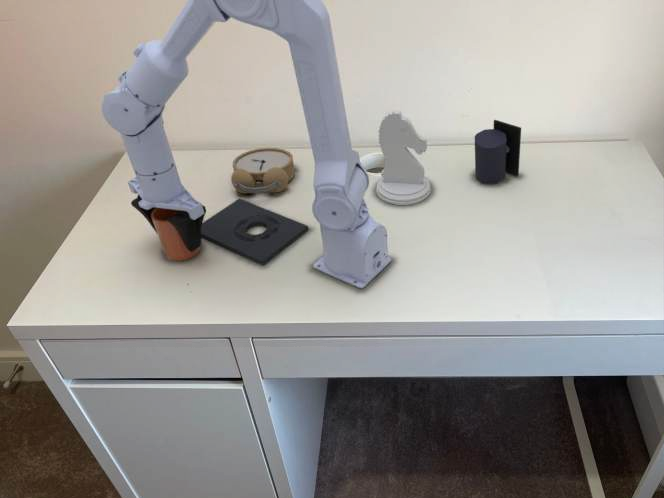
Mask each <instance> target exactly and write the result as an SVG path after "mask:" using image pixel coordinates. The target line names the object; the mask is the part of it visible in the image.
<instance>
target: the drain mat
mask: <svg viewBox="0 0 664 498" xmlns="http://www.w3.org/2000/svg"><path fill="white" fill-rule="evenodd" d="M258 226H261V227H262V226H263V227H265V228H266V230H264V231H263V232H261V233H258V234H257V233H256V234H251V233H248V230H249V229H251V228H254V227H258ZM308 231H309V226H308V225H307V224H304V223H301V222H299V221H297V220H294V219H292V218H289V217H286V216H284V215H282V214H279V213H276V212H274V211H272V210H269V209H266V208H264V207H262V206H259V205H256V204H254V203H252V202H249V201H246V200H243V199H241V198H238V199H236V200H235V201H233V202H232V203H230V204H228V205H227V206H226V207H224V208H223V209H221V210H220V211H217V213H215V214H214V215H212V216H211V217H209V218H208V219H206V220H205V221H203V222H202V227H201V238H203V239H205V240H207V241H209V242H212V243H214V244H216V245H218V246H220V247H222V248H224V249H226V250H229V251H231V252H234V253H236V254H238V255H240V256H242V257H243V258H246V259H248V260H250V261H253V262H254V263H257V264H259V265H261V266H264V265H266V264H267V263H268V262H270V261H271V260H272V259H274V258H275V257H276V256H277V255H279V254H280V253H282V251H284V250H285V249H286V248H287V247H289V246H290V245H291V244H292V243H294V242H295V241H296V240H297V239H299V238H300V237H301V236H302V235H304V234H305V233H306V232H308Z"/></svg>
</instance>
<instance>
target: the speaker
mask: <svg viewBox="0 0 664 498" xmlns="http://www.w3.org/2000/svg"><path fill="white" fill-rule="evenodd" d="M521 140H522V127H521V126H517V125H515V124H511V123H508V122H504V121H501V120H497V119H494V120H493V128H488V129H483V130H481V131H478V132H477V133H476V134H475V135H474V167H475V168H474V172H475V179H476V180H477V181H478V182H479V183H481V184H483V185H497V184H499V183H500V182H502V181H503V180H505V178H506V175H507V174H509V175H511V176H514V177H519V175H520V173H519V172H520V160H521V159H520V158H521V157H520V156H521Z"/></svg>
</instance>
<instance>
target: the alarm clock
mask: <svg viewBox="0 0 664 498" xmlns="http://www.w3.org/2000/svg"><path fill="white" fill-rule="evenodd" d="M232 168H233V172H232V174H231V177H230V178H231V184H232V186H233V188H234V190H236V191H237V192H238V193H241V194H245V195H246V194H247V195H248V194H262V193H267V192H270V193H274V194H276V193H281V192H283V191H284V190H285V189H286V187H287V186H288V183H289V182H290V181H291V180H292V179H293V178H294V176H296V170H295V164H294V156H293V154H292V153H291V152H290V151H288V150H286V149H284V148H278V147H263V148H262V147H261V148H256V149H250V150H248V151H245V152H243V153H242V152H241V154H239V155H237V156H235V158H234V159H233V161H232Z"/></svg>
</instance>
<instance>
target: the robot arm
mask: <svg viewBox="0 0 664 498" xmlns="http://www.w3.org/2000/svg"><path fill="white" fill-rule="evenodd" d="M230 19H233V20H236V21H238V22H241V23H244V24H247V25H251V26H253V27H257V28H260V29H263V30H266V31H269V32H272V33H274V34H275V35H277V36H279V38H282V39H284V40H285V41H286V42H287V43H288V46H289V50H290V55H291V61H292V64H293V70H294V74H295V77H296V83H297V88H298V92H299V97H300V101H301V105H302V110H303V115H304V118H305V124H306V128H307V133H308V137H309V143H310V146H311V147H310V148H311V151H312V155H313V159H314V171H313V173H314V174H313V190H314V199H313V202H312V207H311V212H312V214H313V217H314V218H315V220H316V222H317V223H319V229H320V237H321V243H322V251H323V256H321V257H320V258H319V259H318V260H316V262H314V263H313V265H312V266H313V269H315V270H318V271H319V272H322V273H324V274H327V275H328V276H331V277H334V278H336V279H338V280H339V281H343V282H344V283H347V284H350V285H352V286H354V287H356V288H358V289H364V288H365V287H366V286H367V285H368V284H369V283H370V282H371V281H372V280H373V279H374V278H375V277H376V276H377V275H379V273H380V272H382V270H384V269H385V268H386V266H387V265H389V263H390V262H392V259H391V257H390V256H389V249H388V248H389V247H388V231H387V229H386V226H384V225H383V224H382V223H379V222H378V221H376V220H375V219H374V218H373V217H372V216H371V214H370V213H369V208H368V205H367V203H366V200H365V199H364V197H365V194H366V192H367V190H368V188H369V185H370V177H369V176H370V175H369V173H368V171H367V170H366V168H365V167H364V166H363V164H362V162H361V160H360V154H359V152H358V151H356V150H354V149H353V148H352V147H353V146H352V141H351V137H350V130H349V124H348V119H347V118H348V117H347V112H346V105H345V100H344V94H343V88H342V83H341V77H340V71H339V65H338V59H337V54H336V48H335V47H336V46H335V42H334V41H335V40H334V35H333V30H332V23H331V18H330V14H329V11H328V8H327V7H326V5H325V3H324V2H323V1H322V0H187V1H186V2H185V4H184V5H183V7H182V9H181V11H180V12H179V14H178V15H177V17H176V18H175V20H174V22H173V23H172V25H171V27H170V28H169V30H168V31H167V33H166V35H165V36H164V38H163V39H152V40H148V41H147V42H146V43H144V42H142V43H140V44H139V45H137V46H136V48H135V49H134V50H133V52H132V53H133V55H134V56H135V57H136V58H135V59H134V60H133V62H132V64H131V65H130V67H129V68H128V70H124V71H122V72H121V73H119V75H118V77H117V80H118V81H119V85H118V86H117V87H115V89H114V90H111V91H109V92H107V93H106V94H105V95H104V97H103V100H102V102H101V113H102V115H103V118H104V121H106V122H107V124H108V125H109V126H110V127H111V128H112V129H113V130H115V131H116V132H118V133H119V134H120V137H121V140H122V142H123V145H124V148H125V151H126V154H127V156H128V158H129V162H130V164H131V166H132V169H133V171H134V172H133V173H134V174H135V177H134V178H131V179H130V180H128V181H127V184H128V187H129V190H130V193H132V194H135V195H136V194H137V195H136V198H134V199H133V200H131V201H130V202H131V203H130V205H131V206H132V207H133V208H134V209H135V210H137V211H138V212H139V213H140V214H141V215H142V216H143V217H144V219H145V220H147V222H148V223H149V225H150V226H151V227H152V229H153V231H154V232H155V233H156V234H157V231H156V228H155V226H154V223H153V220H152V218H151V213H152V211H153V210H154V209H155V208H164V209H173V210H178V212H179V213H177V214H176V215H174V216H172V217H171V218H169V219H168V222H169V223H171V224H172V225H173V226H174V227H175V228H176V230H177V231H178V232H179V234H180V236H181V238H182V240H183V242H184V244H185V246H186V248H187V249H188V250H189V251H191V252H193V251H194V250H196V249H197V248H199V247H200V246H201V247H202V237H201V227H202V223H203V222H204V219H205V215H206V213H207V209H206V206H205V205H203V203H202V202H201V201H198V200H197V199H196V198H195V197H194V196H193V194H192V193H190V191H189V190H188V189H187V188H186V187H185V186H184V184H182V181H181V178H180V175H179V171H178V168H177V165H176V161H175V159H174V156H173V153H172V149H171V146H170V142H169V140H168V139H169V138H168V137H167V133H166V130H165V127H164V124H165V122H164V119H163V112H164V111H165V108H166V104H167V102H168V101H169V100H170V98H171V97H172V96H173V95H174V93H176V91H177V89H178V88H179V86H180V85H181V84H182V83H183V82H184V81H185V79H186V78H187V77H188V76H189V63H188V61H187V58H188V56H189V55H190V54H191V53H192V51H194V49H195V48H196V47H197V46H198V44H199V43H200V42H201V41H202V39H203V38H204V37H205V36H206V34H208V32H209V31H210V29H211V28H212V27H213V26H214V25H215V24H216V23H227V21H229V20H230Z"/></svg>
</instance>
